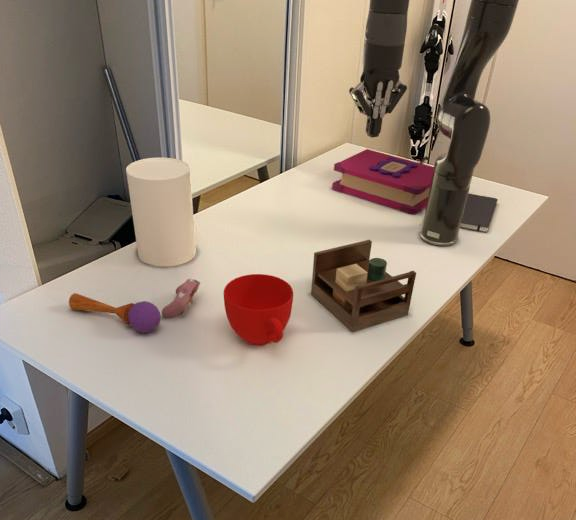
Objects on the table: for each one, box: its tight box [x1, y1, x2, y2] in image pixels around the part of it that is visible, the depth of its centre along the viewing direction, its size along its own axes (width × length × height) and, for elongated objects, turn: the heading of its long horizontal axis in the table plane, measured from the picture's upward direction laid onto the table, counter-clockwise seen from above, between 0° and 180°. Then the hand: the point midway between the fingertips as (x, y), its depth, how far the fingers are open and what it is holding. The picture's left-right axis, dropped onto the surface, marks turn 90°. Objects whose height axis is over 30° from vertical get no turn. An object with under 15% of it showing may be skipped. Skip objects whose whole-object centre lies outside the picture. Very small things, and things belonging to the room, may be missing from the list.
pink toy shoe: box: [161, 277, 201, 319], centre depth 119 cm, size 10×5×7 cm, turn 168°
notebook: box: [460, 192, 499, 233], centre depth 162 cm, size 13×2×21 cm
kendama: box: [68, 292, 162, 334], centre depth 115 cm, size 6×6×20 cm
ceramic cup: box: [223, 273, 294, 346], centre depth 110 cm, size 13×17×10 cm
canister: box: [125, 157, 197, 267], centre depth 132 cm, size 14×14×20 cm
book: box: [331, 148, 434, 215], centre depth 171 cm, size 21×28×8 cm
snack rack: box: [310, 239, 417, 333], centre depth 121 cm, size 14×16×10 cm
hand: (372, 136), depth 120 cm, fingers closed
